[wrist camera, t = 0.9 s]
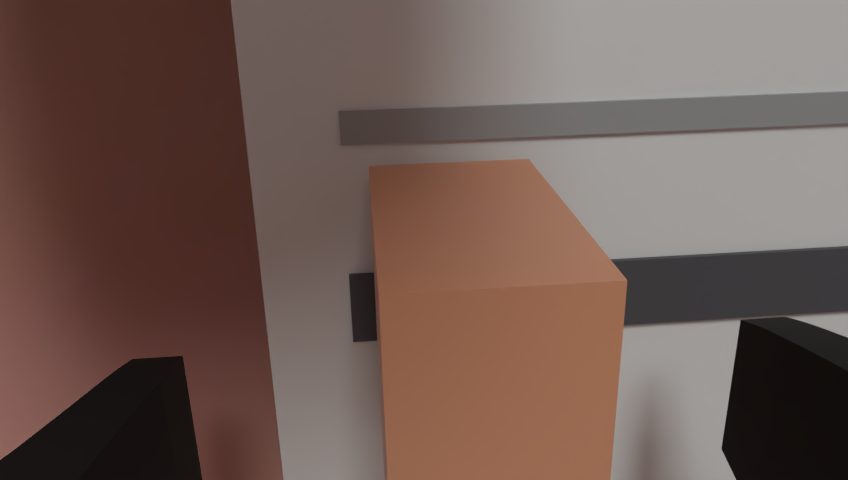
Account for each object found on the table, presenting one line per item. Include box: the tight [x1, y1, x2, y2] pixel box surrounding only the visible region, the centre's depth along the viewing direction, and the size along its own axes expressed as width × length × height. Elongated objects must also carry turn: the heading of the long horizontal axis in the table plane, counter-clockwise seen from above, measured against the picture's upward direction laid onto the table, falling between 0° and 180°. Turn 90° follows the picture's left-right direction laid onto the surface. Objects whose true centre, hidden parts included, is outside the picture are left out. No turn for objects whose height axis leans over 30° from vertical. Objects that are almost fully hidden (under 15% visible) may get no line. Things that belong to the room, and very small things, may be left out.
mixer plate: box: [231, 0, 848, 480], centre depth 15 cm, size 16×22×2 cm
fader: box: [369, 159, 627, 480], centre depth 10 cm, size 2×5×4 cm, turn 1°
